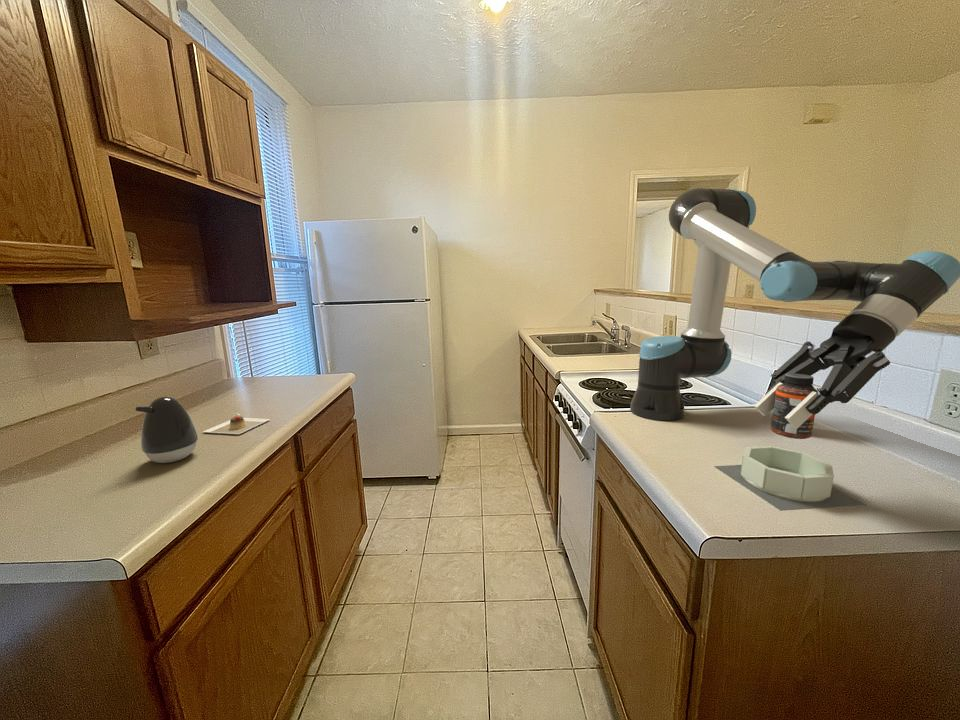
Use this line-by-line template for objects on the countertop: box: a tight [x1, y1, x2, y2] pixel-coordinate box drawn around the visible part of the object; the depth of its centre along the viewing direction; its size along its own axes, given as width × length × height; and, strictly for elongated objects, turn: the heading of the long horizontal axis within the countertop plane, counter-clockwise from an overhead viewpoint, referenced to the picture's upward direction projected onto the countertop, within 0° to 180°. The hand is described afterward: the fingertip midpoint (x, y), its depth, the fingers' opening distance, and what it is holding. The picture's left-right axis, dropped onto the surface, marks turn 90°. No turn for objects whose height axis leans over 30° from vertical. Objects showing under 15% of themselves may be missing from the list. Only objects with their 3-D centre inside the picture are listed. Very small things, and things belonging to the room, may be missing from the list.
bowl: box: [741, 445, 835, 503], centre depth 70 cm, size 13×13×5 cm
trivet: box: [713, 464, 868, 511], centre depth 71 cm, size 16×16×1 cm
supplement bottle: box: [770, 373, 819, 440], centre depth 68 cm, size 6×6×11 cm
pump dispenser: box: [134, 396, 199, 464], centre depth 86 cm, size 10×10×15 cm
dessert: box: [202, 412, 271, 436], centre depth 107 cm, size 12×12×5 cm
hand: (774, 416), depth 68 cm, fingers closed on supplement bottle, 6 cm apart
